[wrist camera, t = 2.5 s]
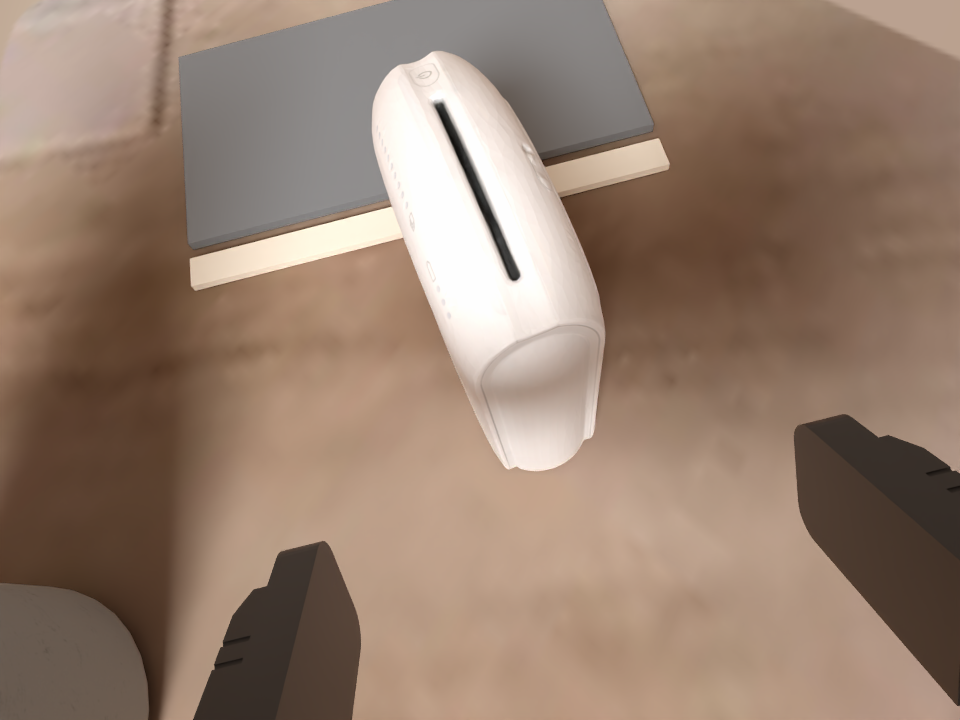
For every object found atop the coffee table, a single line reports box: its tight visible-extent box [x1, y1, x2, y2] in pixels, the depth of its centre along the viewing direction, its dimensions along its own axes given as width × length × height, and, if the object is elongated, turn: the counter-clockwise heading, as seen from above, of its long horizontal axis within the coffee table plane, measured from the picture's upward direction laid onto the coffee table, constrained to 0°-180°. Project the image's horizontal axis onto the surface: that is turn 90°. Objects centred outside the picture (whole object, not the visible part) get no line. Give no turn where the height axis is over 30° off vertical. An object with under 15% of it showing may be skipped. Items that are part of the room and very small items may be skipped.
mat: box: [179, 0, 670, 291], centre depth 32 cm, size 22×14×1 cm, turn 103°
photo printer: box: [372, 51, 605, 471], centre depth 21 cm, size 10×4×12 cm, turn 20°
